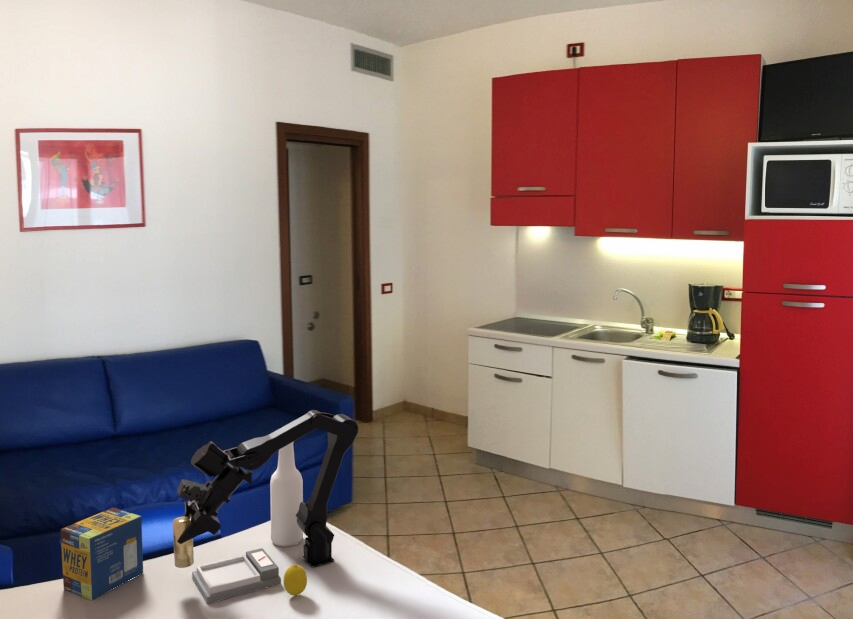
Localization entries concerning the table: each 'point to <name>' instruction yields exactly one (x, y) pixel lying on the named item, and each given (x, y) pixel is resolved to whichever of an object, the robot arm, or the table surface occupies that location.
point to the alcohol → (286, 500)
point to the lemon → (295, 580)
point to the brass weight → (184, 550)
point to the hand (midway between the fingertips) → (177, 538)
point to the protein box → (101, 552)
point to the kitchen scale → (236, 576)
